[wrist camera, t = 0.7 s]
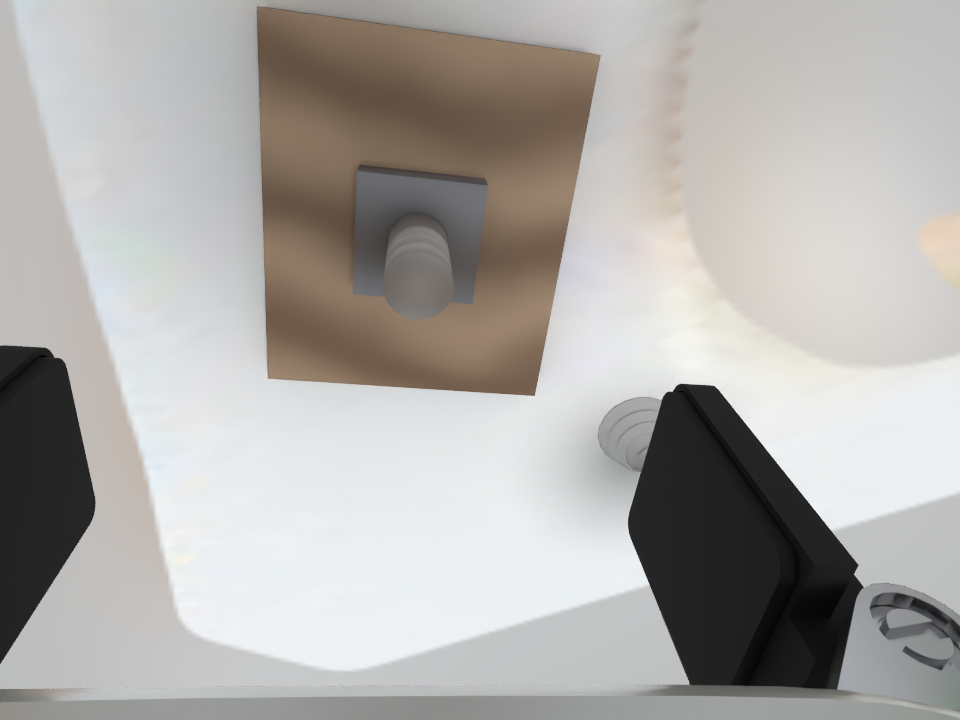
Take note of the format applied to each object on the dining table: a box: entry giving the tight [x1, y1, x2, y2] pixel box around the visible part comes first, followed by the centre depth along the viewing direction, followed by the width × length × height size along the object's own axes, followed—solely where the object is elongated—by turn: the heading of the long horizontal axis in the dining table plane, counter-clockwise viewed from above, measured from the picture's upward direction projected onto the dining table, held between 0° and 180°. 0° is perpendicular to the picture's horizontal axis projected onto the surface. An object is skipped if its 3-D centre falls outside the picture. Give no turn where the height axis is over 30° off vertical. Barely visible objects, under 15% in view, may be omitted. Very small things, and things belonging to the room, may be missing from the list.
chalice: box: [598, 398, 690, 685], centre depth 33 cm, size 7×7×18 cm
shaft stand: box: [257, 7, 600, 396], centre depth 29 cm, size 18×15×9 cm
